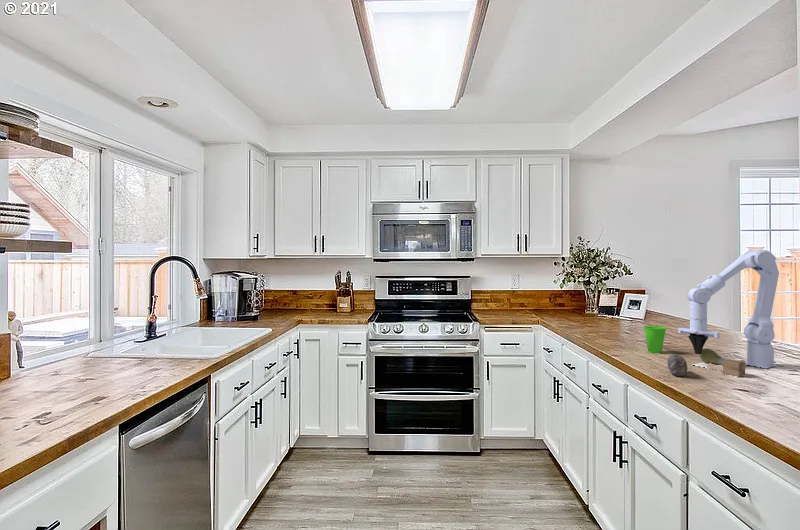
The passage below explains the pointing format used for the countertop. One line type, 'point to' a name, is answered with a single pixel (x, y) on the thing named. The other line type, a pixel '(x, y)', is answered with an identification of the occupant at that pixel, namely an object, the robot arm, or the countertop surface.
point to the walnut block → (734, 367)
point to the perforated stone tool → (677, 365)
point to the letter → (702, 364)
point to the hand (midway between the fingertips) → (698, 353)
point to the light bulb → (710, 357)
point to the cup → (654, 338)
